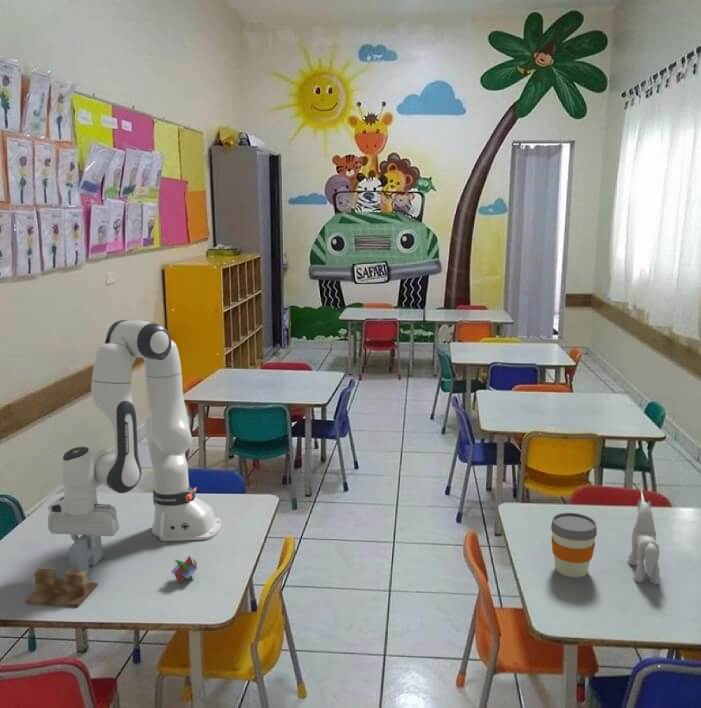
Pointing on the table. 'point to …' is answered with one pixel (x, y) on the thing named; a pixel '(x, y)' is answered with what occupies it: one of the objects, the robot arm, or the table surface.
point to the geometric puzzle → (184, 569)
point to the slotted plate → (84, 553)
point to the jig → (61, 588)
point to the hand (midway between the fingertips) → (85, 547)
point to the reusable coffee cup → (573, 543)
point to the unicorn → (645, 544)
